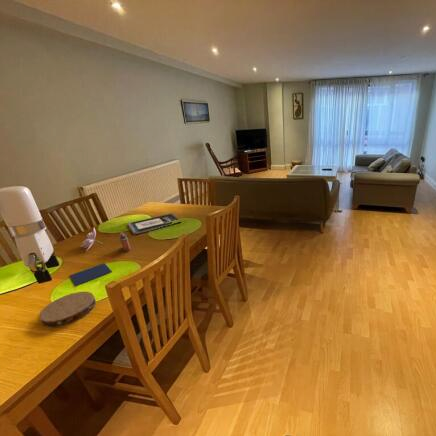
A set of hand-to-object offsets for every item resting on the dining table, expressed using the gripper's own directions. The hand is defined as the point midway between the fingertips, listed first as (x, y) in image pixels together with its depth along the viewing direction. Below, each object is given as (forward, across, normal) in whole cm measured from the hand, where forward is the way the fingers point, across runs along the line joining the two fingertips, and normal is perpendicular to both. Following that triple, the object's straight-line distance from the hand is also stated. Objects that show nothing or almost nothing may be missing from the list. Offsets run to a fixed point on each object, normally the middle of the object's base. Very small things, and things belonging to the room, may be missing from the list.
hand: (49, 274), depth 79 cm
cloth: (+22, -35, +2) cm, 41 cm away
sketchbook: (+22, -87, +32) cm, 95 cm away
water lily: (+22, -70, -2) cm, 73 cm away
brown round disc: (+22, -8, -2) cm, 24 cm away
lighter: (+22, -55, +16) cm, 61 cm away
